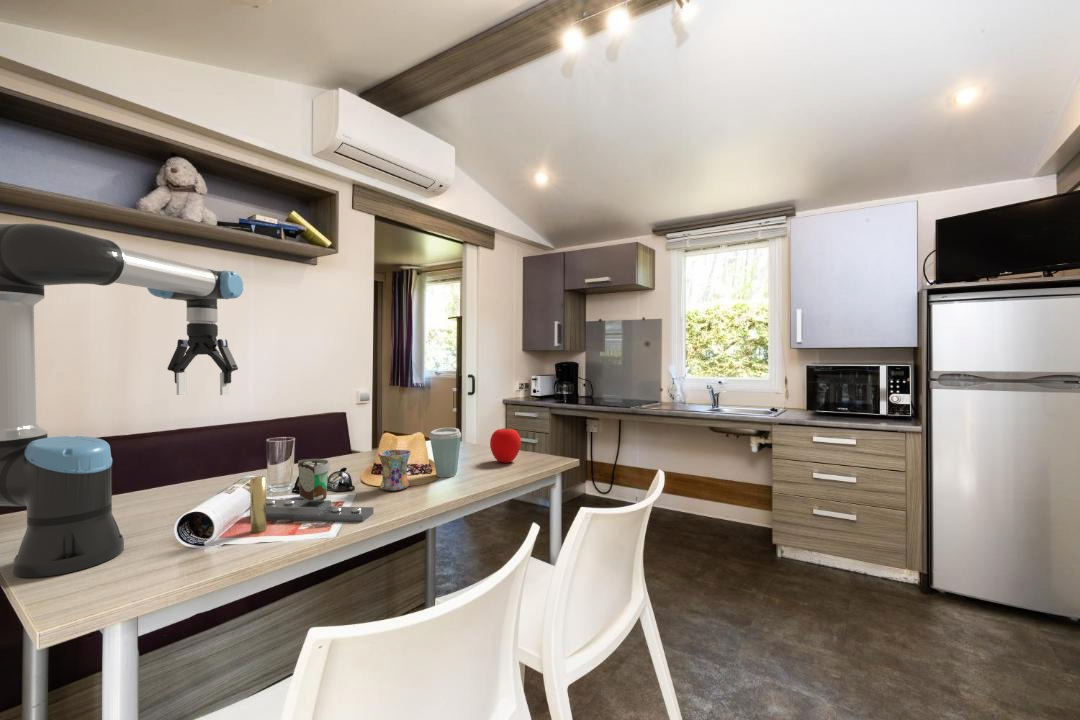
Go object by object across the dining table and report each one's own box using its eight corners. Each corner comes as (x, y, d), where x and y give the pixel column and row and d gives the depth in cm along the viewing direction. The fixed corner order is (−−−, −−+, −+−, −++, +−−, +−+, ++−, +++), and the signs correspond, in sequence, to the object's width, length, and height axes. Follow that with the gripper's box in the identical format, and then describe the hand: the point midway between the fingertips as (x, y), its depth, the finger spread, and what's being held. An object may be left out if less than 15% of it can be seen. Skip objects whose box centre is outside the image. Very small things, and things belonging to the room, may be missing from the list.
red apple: (486, 464, 170) (486, 429, 170) (494, 458, 181) (494, 424, 181) (517, 466, 168) (517, 430, 168) (523, 459, 179) (523, 425, 179)
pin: (260, 533, 105) (260, 479, 105) (247, 533, 105) (247, 479, 105) (269, 528, 108) (268, 476, 108) (256, 528, 108) (256, 475, 108)
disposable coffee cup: (458, 479, 150) (458, 432, 150) (425, 479, 150) (424, 432, 150) (464, 471, 161) (464, 427, 161) (433, 471, 161) (432, 427, 161)
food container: (338, 499, 130) (338, 463, 130) (315, 504, 125) (315, 467, 125) (320, 490, 138) (319, 456, 138) (297, 495, 134) (297, 460, 134)
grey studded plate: (373, 513, 118) (373, 499, 118) (362, 521, 112) (362, 507, 112) (266, 511, 120) (265, 497, 120) (250, 519, 114) (249, 504, 114)
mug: (416, 488, 141) (416, 452, 140) (387, 494, 134) (387, 457, 134) (397, 480, 149) (396, 447, 149) (368, 486, 143) (368, 451, 142)
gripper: (250, 323, 143) (251, 393, 144) (173, 324, 145) (174, 393, 146) (233, 322, 136) (233, 395, 136) (151, 322, 138) (152, 395, 138)
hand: (203, 394), depth 141 cm, fingers open, 13 cm apart
